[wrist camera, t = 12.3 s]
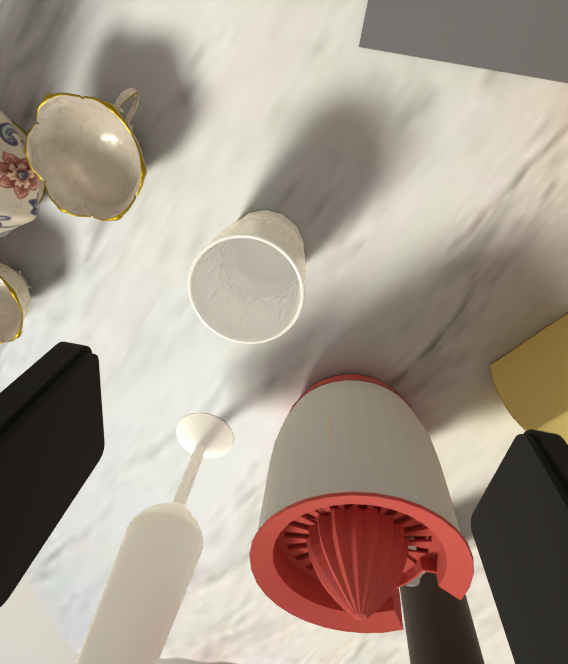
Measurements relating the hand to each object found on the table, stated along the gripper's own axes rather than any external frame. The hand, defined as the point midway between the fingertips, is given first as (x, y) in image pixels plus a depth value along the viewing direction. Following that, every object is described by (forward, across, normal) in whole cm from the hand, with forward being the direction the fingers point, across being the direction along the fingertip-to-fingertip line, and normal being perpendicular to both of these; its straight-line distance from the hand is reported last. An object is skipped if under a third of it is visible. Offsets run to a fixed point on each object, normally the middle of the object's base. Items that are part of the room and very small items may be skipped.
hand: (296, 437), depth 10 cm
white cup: (+28, +4, +5) cm, 29 cm away
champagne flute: (+28, +8, +28) cm, 41 cm away
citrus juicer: (+28, -8, +22) cm, 37 cm away
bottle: (+28, -20, +38) cm, 52 cm away
